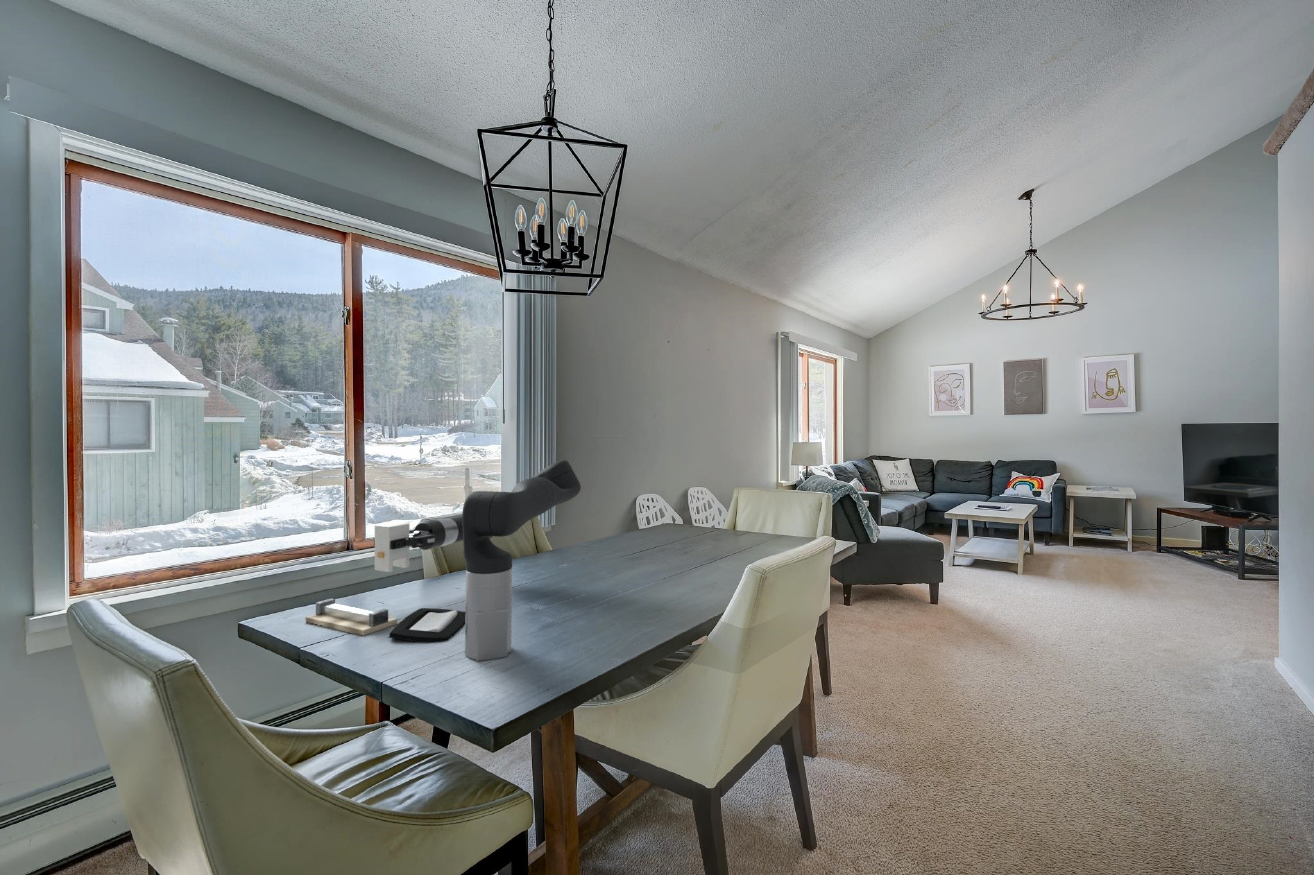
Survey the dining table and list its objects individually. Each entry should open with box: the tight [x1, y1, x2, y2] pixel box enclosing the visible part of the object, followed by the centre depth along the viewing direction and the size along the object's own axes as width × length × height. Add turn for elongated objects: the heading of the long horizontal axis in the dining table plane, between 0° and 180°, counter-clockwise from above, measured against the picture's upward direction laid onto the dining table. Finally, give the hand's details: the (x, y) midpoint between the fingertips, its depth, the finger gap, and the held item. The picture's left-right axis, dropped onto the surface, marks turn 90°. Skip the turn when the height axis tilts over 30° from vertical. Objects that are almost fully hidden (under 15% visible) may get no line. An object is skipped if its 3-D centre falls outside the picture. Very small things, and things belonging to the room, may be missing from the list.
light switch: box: [388, 607, 466, 643], centre depth 134 cm, size 20×3×14 cm
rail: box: [315, 598, 389, 627], centre depth 136 cm, size 20×4×3 cm, turn 65°
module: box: [374, 521, 410, 573], centre depth 143 cm, size 5×7×11 cm
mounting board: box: [305, 613, 398, 637], centre depth 136 cm, size 20×9×1 cm, turn 65°
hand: (383, 544), depth 141 cm, fingers closed on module, 5 cm apart
